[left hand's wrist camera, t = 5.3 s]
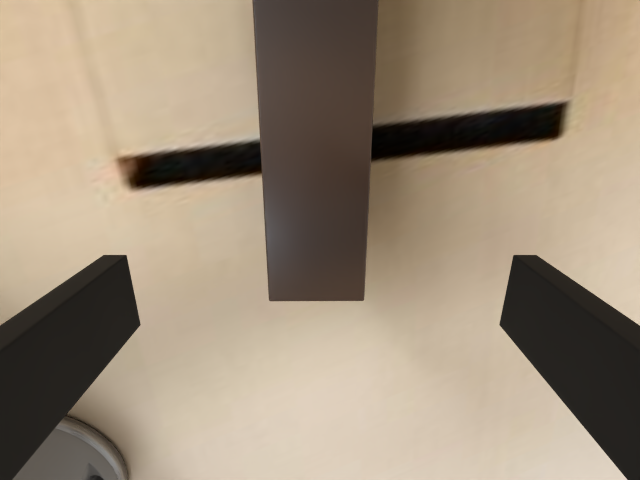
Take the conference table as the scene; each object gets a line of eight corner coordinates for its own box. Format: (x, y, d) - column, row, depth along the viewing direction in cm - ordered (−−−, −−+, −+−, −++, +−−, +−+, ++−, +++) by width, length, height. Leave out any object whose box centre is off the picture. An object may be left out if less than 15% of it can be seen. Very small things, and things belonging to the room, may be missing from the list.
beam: (348, 237, 28) (364, 301, 19) (284, 237, 28) (268, 301, 19) (363, -272, 19) (410, -660, 9) (267, -272, 19) (215, -662, 9)
